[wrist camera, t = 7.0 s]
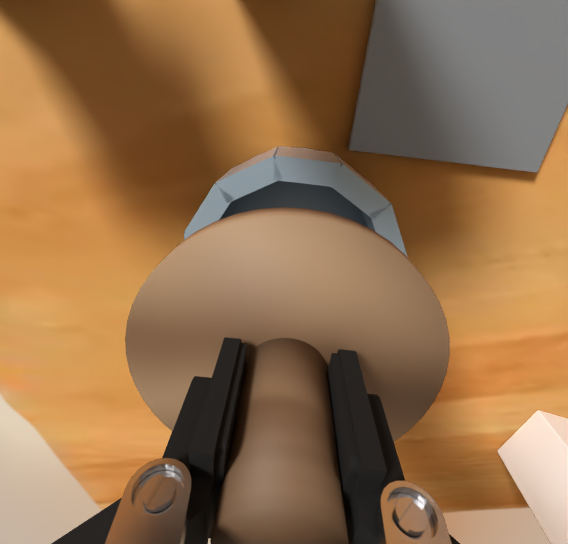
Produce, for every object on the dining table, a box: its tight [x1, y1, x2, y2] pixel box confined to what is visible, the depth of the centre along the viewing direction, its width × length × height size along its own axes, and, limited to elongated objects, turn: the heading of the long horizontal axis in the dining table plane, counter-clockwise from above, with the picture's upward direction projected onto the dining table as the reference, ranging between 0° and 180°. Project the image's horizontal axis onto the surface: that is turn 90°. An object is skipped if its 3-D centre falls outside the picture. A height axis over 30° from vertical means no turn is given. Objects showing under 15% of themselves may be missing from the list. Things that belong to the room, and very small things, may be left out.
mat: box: [348, 0, 568, 172], centre depth 17 cm, size 11×9×1 cm
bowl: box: [184, 146, 407, 256], centre depth 20 cm, size 12×12×5 cm
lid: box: [125, 207, 449, 544], centre depth 9 cm, size 11×11×6 cm
